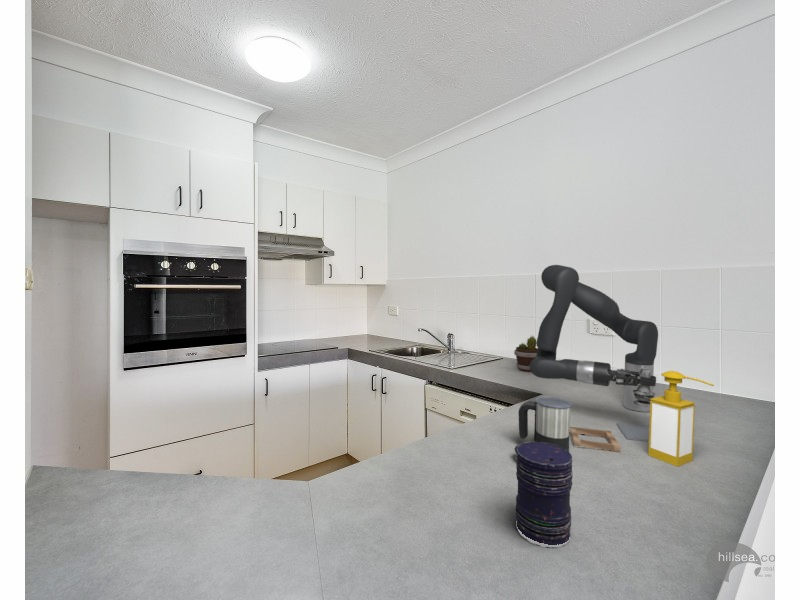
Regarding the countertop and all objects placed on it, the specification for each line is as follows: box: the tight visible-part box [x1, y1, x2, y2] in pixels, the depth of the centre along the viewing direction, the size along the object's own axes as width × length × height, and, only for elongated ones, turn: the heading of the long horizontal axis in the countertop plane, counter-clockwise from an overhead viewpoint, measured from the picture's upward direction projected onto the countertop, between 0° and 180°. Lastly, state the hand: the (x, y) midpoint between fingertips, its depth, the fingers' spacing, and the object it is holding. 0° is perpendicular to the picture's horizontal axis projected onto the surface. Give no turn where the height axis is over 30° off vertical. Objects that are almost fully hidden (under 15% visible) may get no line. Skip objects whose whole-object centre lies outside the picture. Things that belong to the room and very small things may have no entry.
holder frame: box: [569, 426, 622, 453], centre depth 112 cm, size 12×12×2 cm
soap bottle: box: [647, 370, 715, 467], centre depth 98 cm, size 7×13×24 cm, turn 27°
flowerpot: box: [513, 334, 538, 373], centre depth 205 cm, size 14×15×20 cm
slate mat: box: [616, 422, 649, 442], centre depth 118 cm, size 12×12×1 cm
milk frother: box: [514, 396, 573, 455], centre depth 100 cm, size 14×16×15 cm
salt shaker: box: [633, 366, 656, 407], centre depth 117 cm, size 6×6×12 cm
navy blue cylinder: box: [514, 441, 573, 545], centre depth 71 cm, size 10×10×15 cm
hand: (655, 381), depth 115 cm, fingers closed on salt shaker, 3 cm apart
